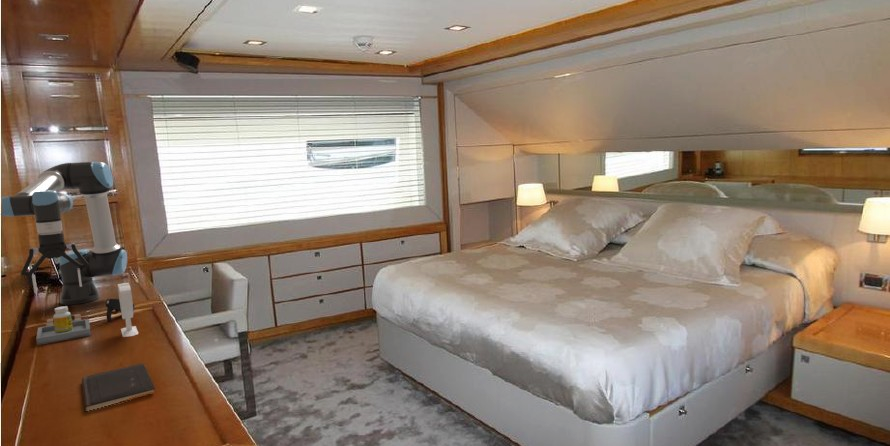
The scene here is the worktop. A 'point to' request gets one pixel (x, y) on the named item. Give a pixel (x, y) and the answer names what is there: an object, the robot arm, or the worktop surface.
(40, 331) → the tray
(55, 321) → the supplement bottle
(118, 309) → the gun
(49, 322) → the socket block
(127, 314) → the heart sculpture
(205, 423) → the worktop surface
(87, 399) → the hardcover book
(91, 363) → the worktop surface
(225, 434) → the worktop surface
